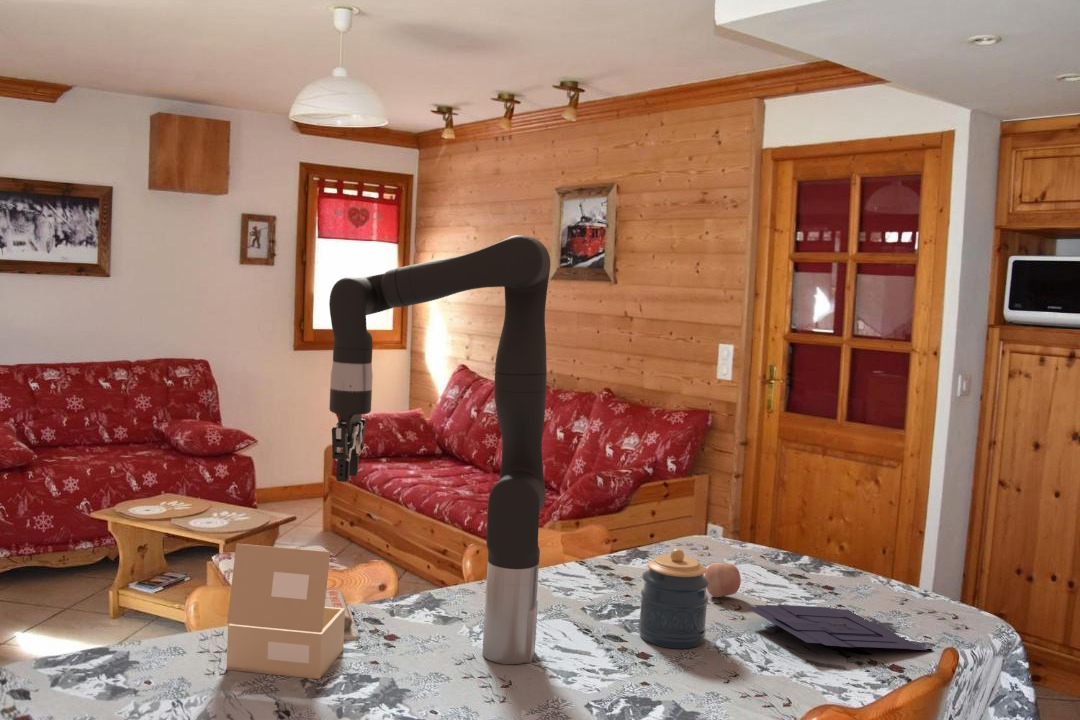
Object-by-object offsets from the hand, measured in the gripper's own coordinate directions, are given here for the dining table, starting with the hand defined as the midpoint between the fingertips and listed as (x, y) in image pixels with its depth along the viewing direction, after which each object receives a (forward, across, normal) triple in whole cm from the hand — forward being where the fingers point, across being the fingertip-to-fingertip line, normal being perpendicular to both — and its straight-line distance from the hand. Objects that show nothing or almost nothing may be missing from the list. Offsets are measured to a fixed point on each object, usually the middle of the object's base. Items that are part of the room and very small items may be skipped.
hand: (347, 477), depth 180 cm
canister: (+30, +14, -62) cm, 70 cm away
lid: (+15, -20, +5) cm, 25 cm away
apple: (+30, +42, -74) cm, 90 cm away
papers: (+30, +23, -95) cm, 102 cm away
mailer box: (+29, -14, +5) cm, 33 cm away
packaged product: (+30, +4, +4) cm, 31 cm away
